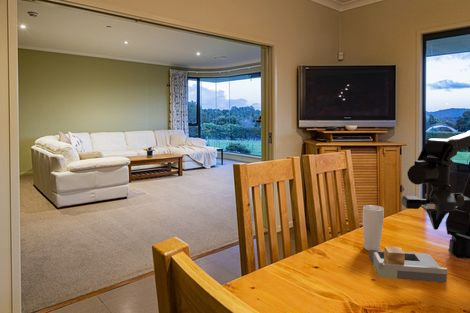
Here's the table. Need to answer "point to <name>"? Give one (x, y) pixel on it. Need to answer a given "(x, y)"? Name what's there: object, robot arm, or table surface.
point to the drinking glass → (372, 226)
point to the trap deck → (409, 267)
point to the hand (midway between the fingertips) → (435, 229)
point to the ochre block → (394, 255)
